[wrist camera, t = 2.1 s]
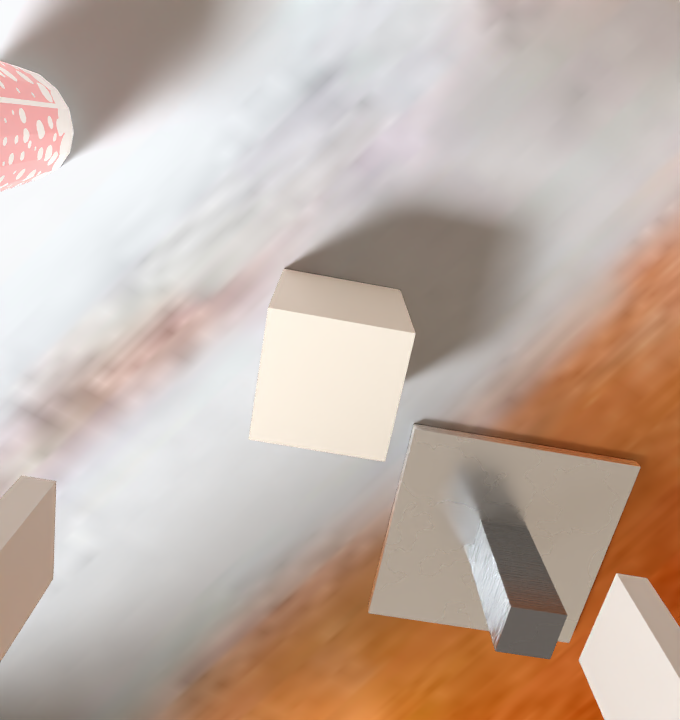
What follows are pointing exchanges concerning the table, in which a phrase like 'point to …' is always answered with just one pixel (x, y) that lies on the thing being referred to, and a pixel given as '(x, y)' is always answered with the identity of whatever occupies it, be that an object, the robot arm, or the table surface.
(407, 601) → the square grey base plate
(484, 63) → the table surface
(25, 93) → the beverage cup
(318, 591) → the table surface
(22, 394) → the table surface
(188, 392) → the table surface
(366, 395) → the cream cube
